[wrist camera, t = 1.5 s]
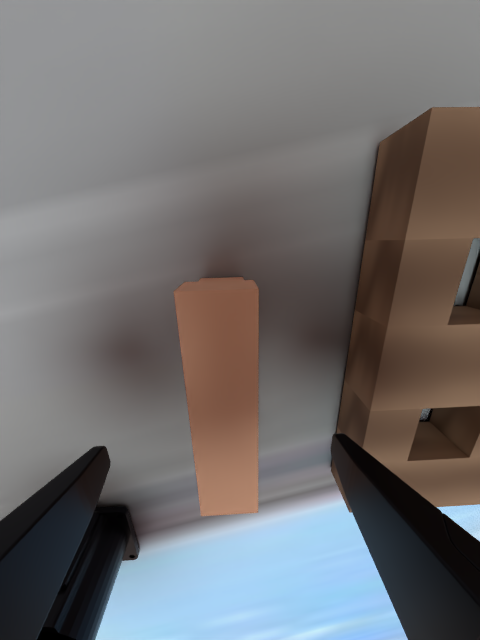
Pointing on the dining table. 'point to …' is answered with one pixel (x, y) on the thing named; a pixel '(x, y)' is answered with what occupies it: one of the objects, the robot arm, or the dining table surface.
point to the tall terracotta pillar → (222, 389)
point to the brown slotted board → (420, 312)
